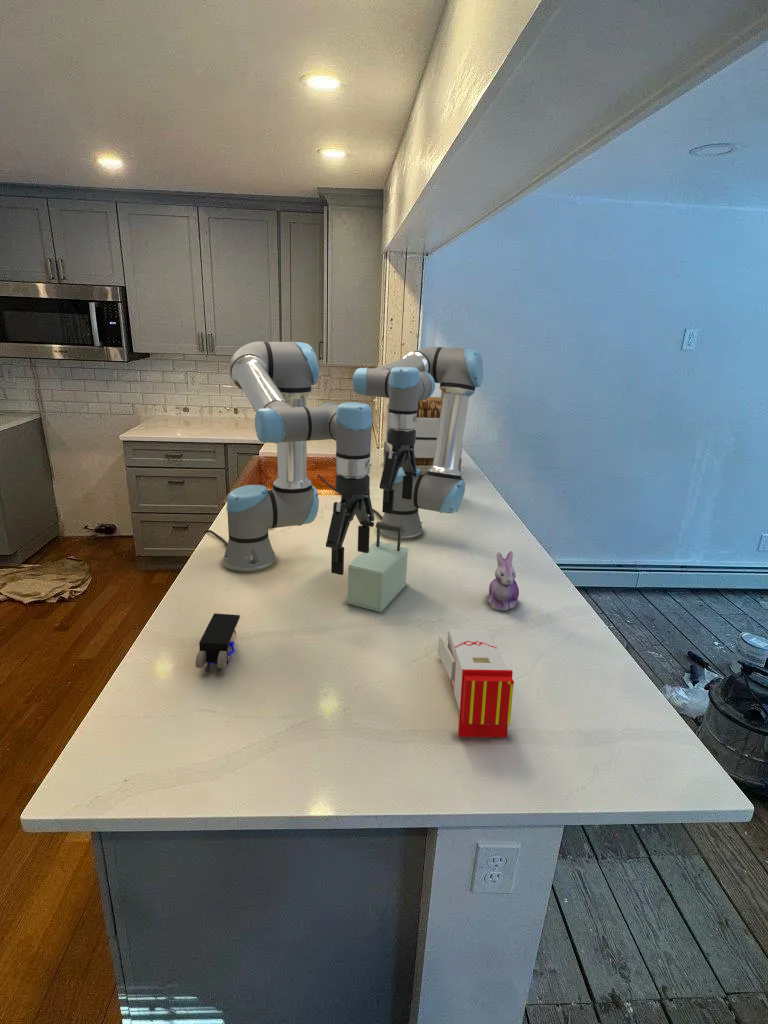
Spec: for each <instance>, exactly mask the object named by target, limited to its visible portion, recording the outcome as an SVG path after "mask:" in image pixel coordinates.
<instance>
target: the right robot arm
mask: <svg viewBox="0 0 768 1024" xmlns="http://www.w3.org/2000/svg"><path fill="white" fill-rule="evenodd" d="M482 357H483V356H482V355H481V352H479V350H476V349H471V348H461V347H445V346H430V347H425V348H421V349H416V350H413V351H410V352H409V353H406V354H405V355H404V356H403V358H400V359H398V360H395V361H392V362H389V363H386V364H382V365H380V366H377V367H374V368H373V367H372V368H371V367H358V368H357V369H356V370H354V373H353V375H352V388H353V391H354V392H355V394H357V395H360V396H365V397H376V398H386V399H388V403H389V409H388V423H386V426H388V427H389V429H388V430H387V442H388V443H389V444H391V445H392V451H387V452H386V460H385V464H383V469H382V474H381V478H380V483H379V489H381V490H382V507H381V508H382V509H381V513H383V515H381V514H380V513H379V512H378V511H377V510H375V509H374V508H372V509H373V513H375V514H376V515H377V516H378V518H379V519H380V520H381V522H383V523H388V524H393V525H398V526H402V527H403V530H402V532H401V541H410V540H415V539H418V538H420V537H421V536H422V535H423V525H422V524H423V522H422V521H421V518H420V515H419V509H420V510H427V511H431V512H438V513H440V514H451V515H452V514H454V513H456V512H457V511H458V510H459V508H460V506H461V504H462V502H463V499H464V496H465V491H466V481H465V480H464V479H463V480H464V481H463V480H461V478H462V473H460V472H459V470H458V465H459V459H460V452H461V446H462V447H463V443H462V441H463V439H464V433H465V432H464V431H465V426H466V419H467V415H468V413H467V412H468V408H469V400H470V397H471V396H473V395H474V394H475V392H476V388H480V387H481V386H482V382H483V380H484V379H483V378H484V363H483V358H482ZM436 384H439V390H440V392H443V400H442V406H441V413H440V419H439V426H438V433H437V439H436V446H435V453H434V459H433V465H431V466H429V468H428V469H427V470H426V474H422V470H421V468H419V467H417V466H416V461H415V454H414V444H415V440H416V431H415V428H416V421H418V418H417V408H418V401H423V400H425V399H427V398H428V397H432V395H433V394H434V392H435V389H436ZM401 467H402V468H401ZM317 477H318V479H320V480H321V481H322V482H323V483H324V484H325V485H326V486H328V487H329V488H330V489H332V490H333V491H335V492H336V493H338V492H337V491H336V487H334V486H333V485H331V484H330V483H329V482H327V481H326V480H325V479H324V478H323V477H322V476H321V475H320V474H317ZM338 494H339V495H341V494H340V493H338ZM380 536H382V537H385V538H387V539H389V540H395V541H398V532H393V531H388V530H383V529H380Z"/></svg>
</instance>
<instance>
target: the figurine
mask: <svg viewBox="0 0 768 1024" xmlns="http://www.w3.org/2000/svg"><path fill="white" fill-rule="evenodd" d="M513 556H514V553H513V551H512V550H510V551H508V553H507V555H506V556H505V558H504V556H503V555H502V553H501V552H500V551H497V552H496V562H497V563H496V564H497V567H496V569H495V571H494V576H495V578H494V579H492V581H491V582H489V585H488V596H487V601H488V602H487V603H489V605H491V608H492V609H493V610H496V611H497V610H498V611H503V612H505V611H507V610H511V609H514V608H515V606H516V605H517V603H518V599H519V596H520V590H519V585H518V583H517V581H516V576H517V575H516V571H515V568H514V566H513Z"/></svg>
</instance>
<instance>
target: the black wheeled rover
mask: <svg viewBox="0 0 768 1024" xmlns="http://www.w3.org/2000/svg"><path fill="white" fill-rule="evenodd" d="M240 618H241V615H240V614H230V613H229V614H228V613H215V612H214V613H213V615H212V617H211V618H210V621H209V622H208V623H207V626H206V627H205V630H204V632H203V634H202V636H201V638H200V640H199V642H198V644H199V650H198V651H197V654H196V657H195V668H196V669H203V668H204V671H205V673H208V672H209V671H210V668H211V667H212V665H216V666H217V668H219V669H218V673H221V672H222V671H223V669H225V668H226V665H228V664H229V659H230V657H231V656H232V655H233V654H234V653H235V652H236V649H235V641H236V640H237V632H236V628H237V625H238V623H239V620H240ZM229 647H230V651H229ZM205 665H206V667H205Z"/></svg>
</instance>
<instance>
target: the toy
mask: <svg viewBox="0 0 768 1024" xmlns="http://www.w3.org/2000/svg"><path fill="white" fill-rule="evenodd" d="M446 640H447V643H446V641H445V639H444V636H443V635H442V634H439V637H438V646H437V656H438V657H439V659H440V661H441V663H442V666H443V668H444V670H445V672H446V674H447V677H448V679H449V681H450V684H451V687H452V690H453V693H454V697H455V701H456V705H457V708H458V711H459V714H458V715H459V716H458V730H457V731H458V732H457V737H458V738H508V731H509V726H510V725H511V717H512V707H513V697H514V696H513V695H514V684H515V680H514V679H513V673H514V671H513V670H512V669H508V667H507V665H506V662H505V661H504V659H503V658H502V655H501V653H500V651H499V649H498V647H497V643H496V639H495V637H494V635H493V634H491V632H490V631H489V629H467V628H466V629H465V628H463V629H461V628H460V629H459V628H448V630H447V639H446Z"/></svg>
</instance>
